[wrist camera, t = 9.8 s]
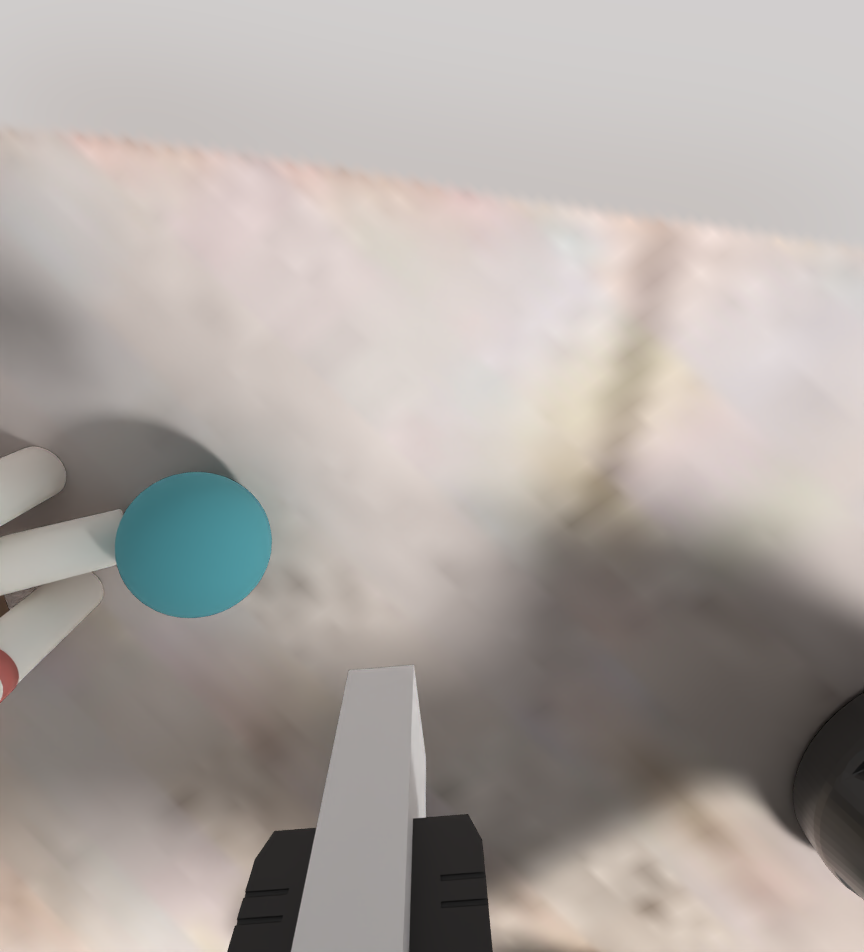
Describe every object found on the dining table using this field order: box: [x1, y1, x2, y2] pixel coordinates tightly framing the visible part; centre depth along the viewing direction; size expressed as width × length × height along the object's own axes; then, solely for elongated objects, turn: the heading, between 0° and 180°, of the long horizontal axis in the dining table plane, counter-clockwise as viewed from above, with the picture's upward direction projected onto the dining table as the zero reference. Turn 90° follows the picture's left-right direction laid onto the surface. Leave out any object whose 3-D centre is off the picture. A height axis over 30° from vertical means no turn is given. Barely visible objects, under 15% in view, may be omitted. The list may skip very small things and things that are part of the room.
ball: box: [115, 472, 272, 618], centre depth 24 cm, size 6×6×6 cm
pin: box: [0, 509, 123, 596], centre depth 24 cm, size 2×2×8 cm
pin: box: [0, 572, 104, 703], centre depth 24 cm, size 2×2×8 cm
